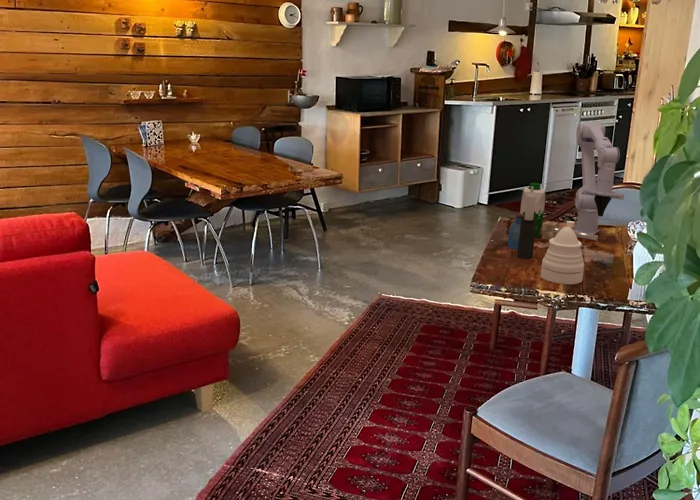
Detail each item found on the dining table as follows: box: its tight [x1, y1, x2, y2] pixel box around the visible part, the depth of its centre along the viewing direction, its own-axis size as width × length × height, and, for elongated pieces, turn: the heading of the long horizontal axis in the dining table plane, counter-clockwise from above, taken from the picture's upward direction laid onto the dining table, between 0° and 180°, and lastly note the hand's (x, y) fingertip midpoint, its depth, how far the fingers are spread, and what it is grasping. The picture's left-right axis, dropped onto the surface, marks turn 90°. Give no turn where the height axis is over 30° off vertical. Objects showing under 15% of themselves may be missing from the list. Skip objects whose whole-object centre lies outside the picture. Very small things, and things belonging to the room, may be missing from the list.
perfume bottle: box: [507, 213, 525, 250], centre depth 246 cm, size 6×6×12 cm
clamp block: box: [541, 220, 559, 241], centre depth 259 cm, size 4×5×6 cm
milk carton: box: [519, 182, 546, 239], centre depth 261 cm, size 9×9×20 cm
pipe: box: [554, 227, 599, 242], centre depth 254 cm, size 20×2×2 cm, turn 54°
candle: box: [516, 186, 536, 260], centre depth 232 cm, size 5×5×25 cm
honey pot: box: [540, 220, 585, 285], centre depth 213 cm, size 13×13×18 cm
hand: (600, 215), depth 253 cm, fingers closed
